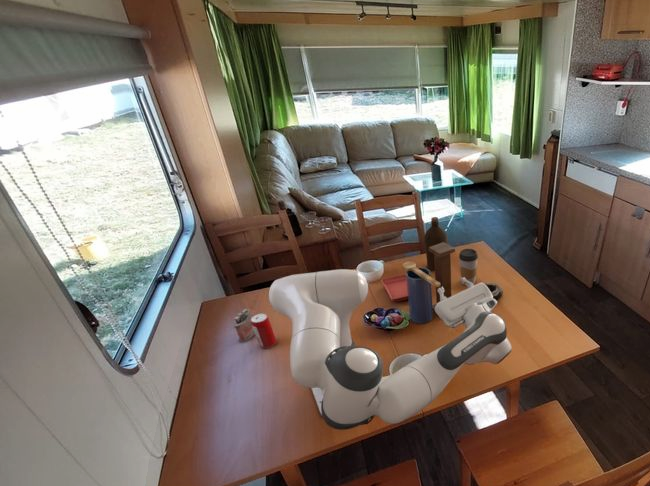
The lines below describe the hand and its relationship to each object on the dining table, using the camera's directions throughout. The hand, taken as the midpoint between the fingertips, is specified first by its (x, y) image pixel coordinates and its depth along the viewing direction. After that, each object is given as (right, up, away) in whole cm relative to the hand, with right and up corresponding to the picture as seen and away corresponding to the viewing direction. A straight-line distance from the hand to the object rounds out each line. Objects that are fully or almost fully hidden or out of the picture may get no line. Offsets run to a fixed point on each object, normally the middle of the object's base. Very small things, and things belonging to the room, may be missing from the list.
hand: (450, 283), depth 126 cm
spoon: (-12, +3, +14) cm, 18 cm away
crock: (-13, -13, +25) cm, 31 cm away
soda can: (-66, -22, +12) cm, 71 cm away
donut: (+15, -5, +38) cm, 41 cm away
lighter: (-76, -19, +16) cm, 80 cm away
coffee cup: (+6, +1, +48) cm, 48 cm away
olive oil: (-9, +9, +60) cm, 62 cm away
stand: (-4, -10, +30) cm, 32 cm away
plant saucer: (-21, -3, +42) cm, 47 cm away
